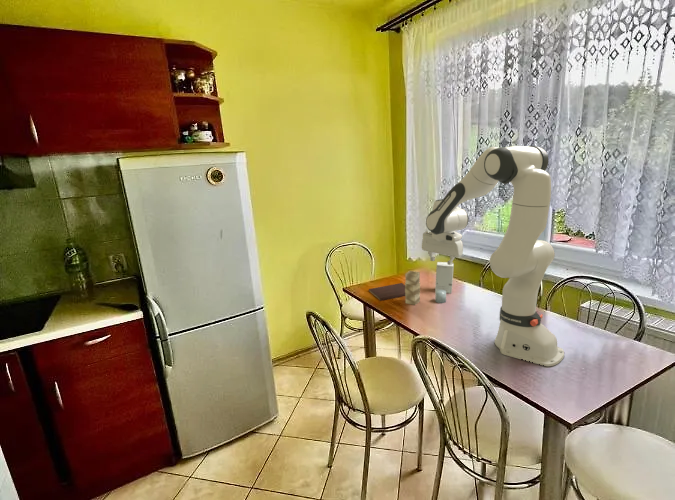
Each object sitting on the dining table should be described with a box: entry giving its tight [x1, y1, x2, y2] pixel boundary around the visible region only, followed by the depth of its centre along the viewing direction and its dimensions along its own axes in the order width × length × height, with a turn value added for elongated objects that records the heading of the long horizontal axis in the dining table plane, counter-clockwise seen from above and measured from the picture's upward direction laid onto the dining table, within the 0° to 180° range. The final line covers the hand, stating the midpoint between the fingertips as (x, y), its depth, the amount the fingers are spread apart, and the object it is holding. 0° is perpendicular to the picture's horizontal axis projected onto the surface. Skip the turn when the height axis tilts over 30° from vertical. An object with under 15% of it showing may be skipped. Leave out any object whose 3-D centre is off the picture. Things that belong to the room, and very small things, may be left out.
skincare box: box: [434, 261, 455, 294], centre depth 188 cm, size 8×6×15 cm
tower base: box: [404, 292, 421, 306], centre depth 178 cm, size 5×5×5 cm
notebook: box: [368, 282, 405, 302], centre depth 192 cm, size 15×20×2 cm
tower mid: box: [404, 282, 421, 296], centre depth 177 cm, size 5×5×5 cm
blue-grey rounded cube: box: [434, 290, 447, 304], centre depth 178 cm, size 5×5×5 cm
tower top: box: [405, 270, 421, 286], centre depth 175 cm, size 5×5×5 cm
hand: (441, 262), depth 173 cm, fingers open, 8 cm apart
